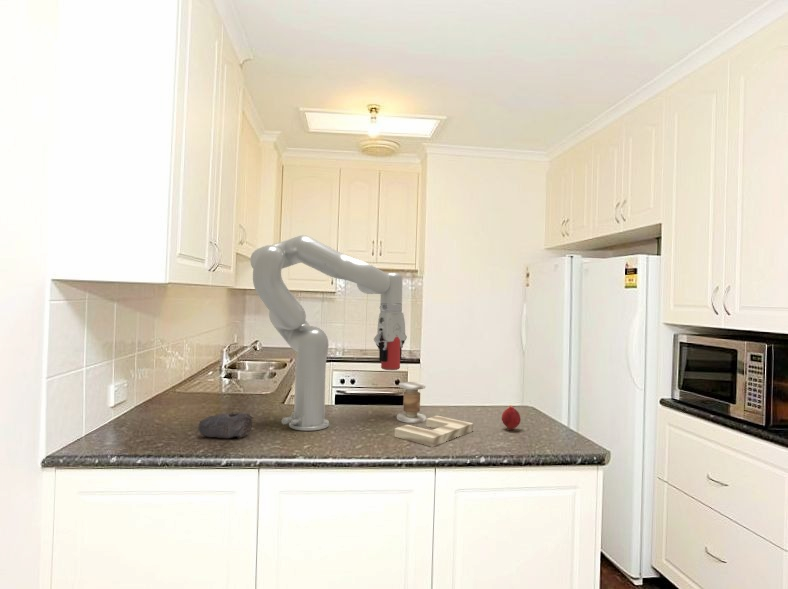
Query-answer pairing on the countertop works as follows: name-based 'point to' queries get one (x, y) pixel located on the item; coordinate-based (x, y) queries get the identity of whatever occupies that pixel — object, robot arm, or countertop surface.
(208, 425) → the perforated stone tool
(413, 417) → the bobbin
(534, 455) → the countertop surface
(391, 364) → the beer can
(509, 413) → the onion
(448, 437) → the notched board
